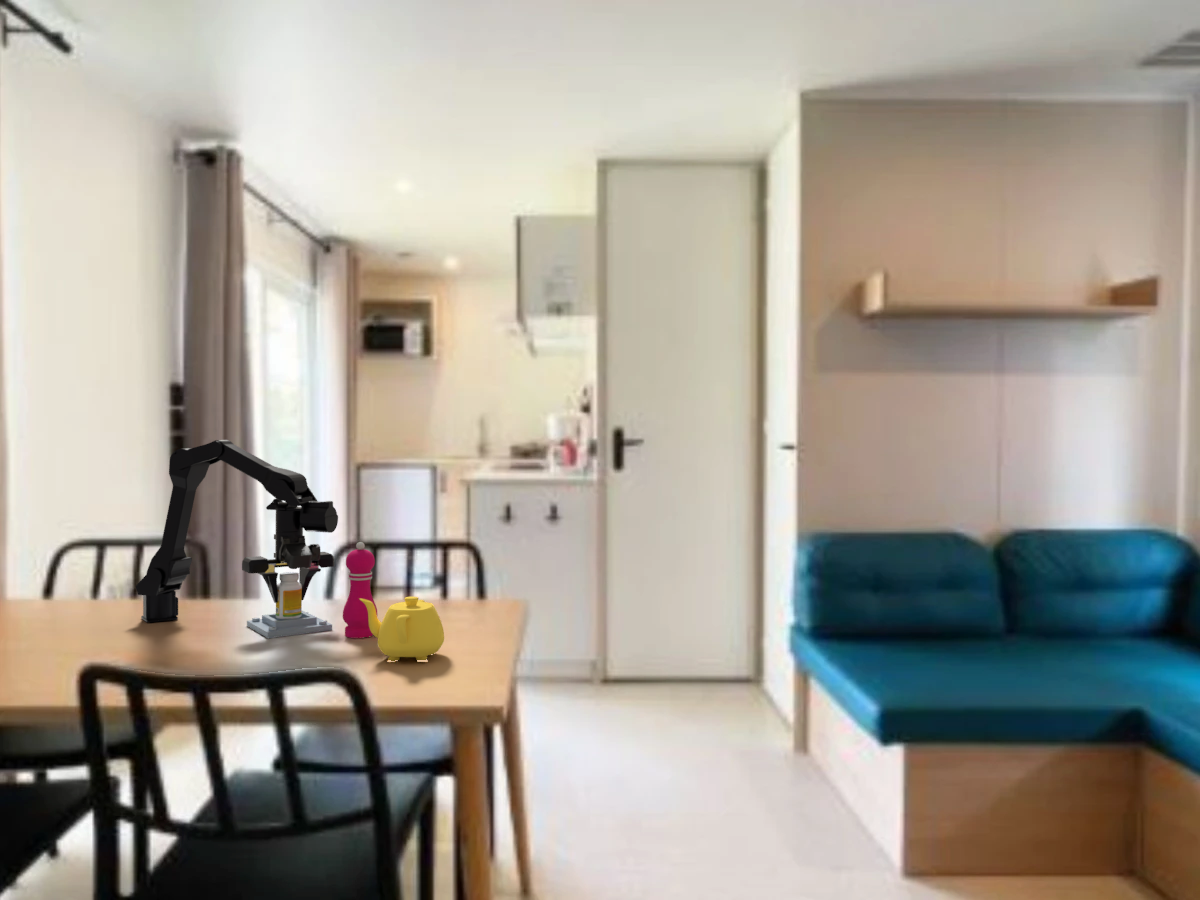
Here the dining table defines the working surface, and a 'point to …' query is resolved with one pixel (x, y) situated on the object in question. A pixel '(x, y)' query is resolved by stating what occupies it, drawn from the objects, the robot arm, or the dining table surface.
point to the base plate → (288, 625)
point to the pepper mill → (358, 592)
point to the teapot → (407, 629)
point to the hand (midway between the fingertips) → (288, 601)
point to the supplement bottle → (289, 596)
